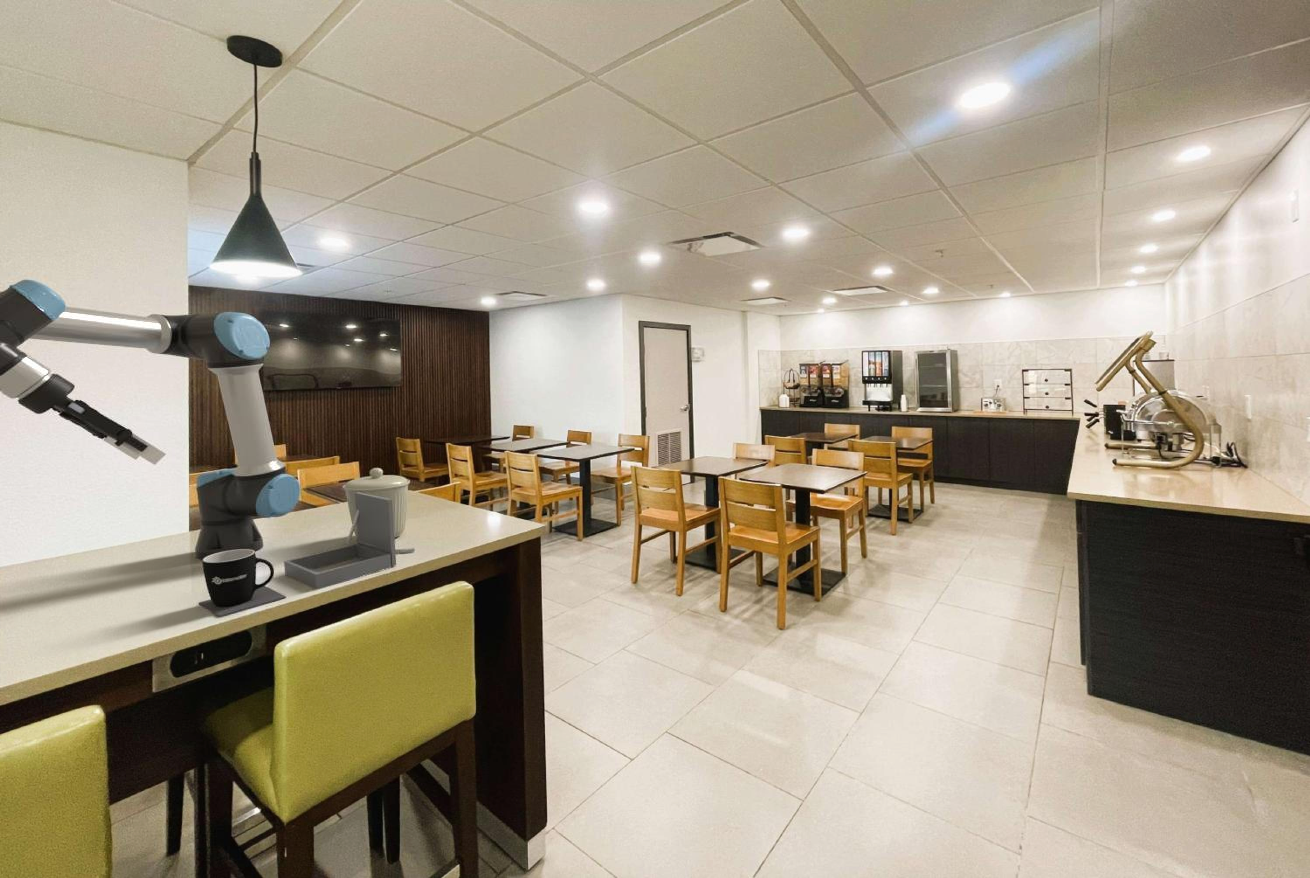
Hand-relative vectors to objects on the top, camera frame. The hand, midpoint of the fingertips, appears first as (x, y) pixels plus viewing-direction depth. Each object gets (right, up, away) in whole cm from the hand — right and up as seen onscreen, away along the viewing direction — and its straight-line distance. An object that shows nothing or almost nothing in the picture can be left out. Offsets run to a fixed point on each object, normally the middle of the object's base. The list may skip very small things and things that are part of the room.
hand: (150, 456), depth 117 cm
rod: (+33, -28, +36) cm, 56 cm away
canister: (+23, -26, +52) cm, 62 cm away
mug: (+17, -31, +3) cm, 35 cm away
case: (+27, -29, +22) cm, 45 cm away
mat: (+17, -31, +4) cm, 36 cm away
